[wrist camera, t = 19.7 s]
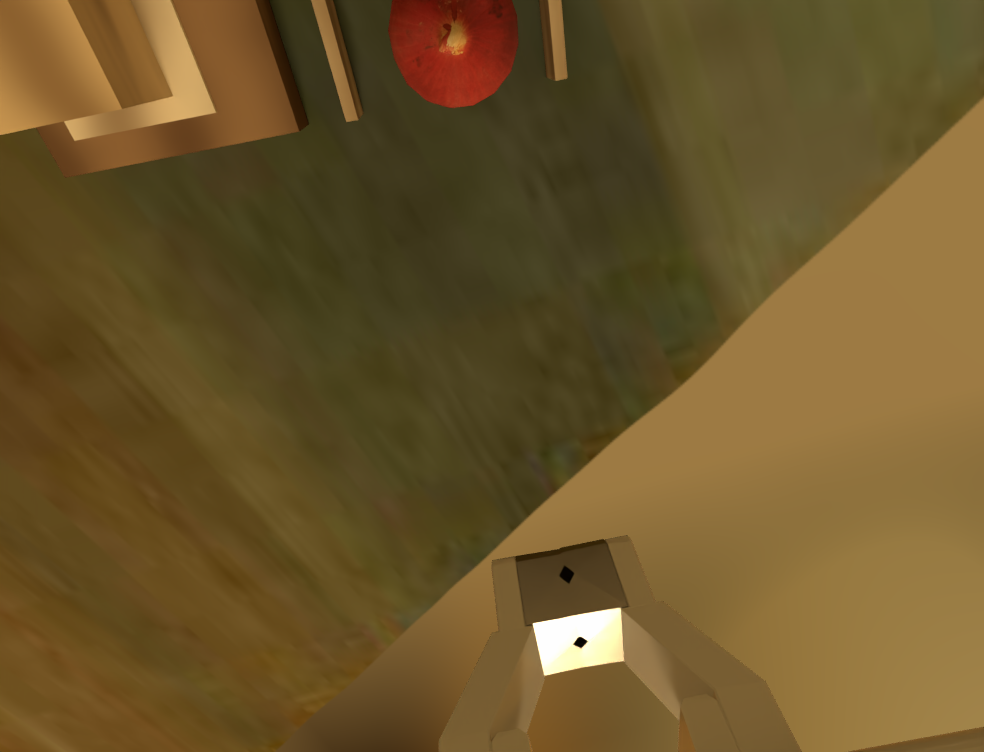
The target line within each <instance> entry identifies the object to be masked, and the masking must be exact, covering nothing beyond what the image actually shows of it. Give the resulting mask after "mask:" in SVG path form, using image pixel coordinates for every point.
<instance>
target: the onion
mask: <svg viewBox="0 0 984 752" xmlns="http://www.w3.org/2000/svg"><path fill="white" fill-rule="evenodd" d="M388 32H389V36H390V41H391V46H392V50H393V55H394V59H395V61H396V63H397V65H398V67H399V69H400V71H401V73H402V75H403V77H404V79H405V81H406V82H407V84H408V85H409V86H410V87H411V88H413V89H414V90H415V91H416V92H417V93H418V94H420V95H421V96H422V97H423V98H424V99H425V100H427V101H429V102H432V103H435V104H439V105H442V106H445V107H448V108H454V107H463V106H472V105H475V104H476V103H478V102H480V101H482V100H483V99H485V98H487V97H488V96H490V95H492V94H494V93H495V91H496V90H497V89H498V88H499V86H500V85H501V84H502V82H503V81H504V80H505V78H506V77H507V76H508V75H509V73H510V72H511V70H512V66H513V62H514V58H515V55H516V51H517V47H518V26H517V14H516V11H515V9H514V6H513V3H512V0H393V1H392V7H391V14H390V22H389V30H388Z"/></svg>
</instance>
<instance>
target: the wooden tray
mask: <svg viewBox="0 0 984 752" xmlns="http://www.w3.org/2000/svg"><path fill="white" fill-rule="evenodd" d="M130 1H131V3H132V5H133V8H134V10H135V12H136V14H137V17H138V19H139V21H140V23H141V26H142V28H143V30H144V32H145V34H146V37H147V39H148V41H149V43H150V46H151V48H152V50H153V52H154V54H155V57H156V59H157V61H158V63H159V66H160V68H161V70H162V72H163V74H164V77H165V79H166V81H167V83H168V86H169V88H170V90H171V92H172V94H173V97H169V98H165V99H161V100H157V101H153V102H149V103H145V104H140V105H136V106H132V107H128V108H124V109H120V110H115V111H110V112H106V113H101V114H96V115H92V116H87V117H82V118H78V119H73V120H68V121H63V122H59V123H54V124H49V125H45V126H40V127H36V128H37V130H38V132H39V134H40V135H41V137H42V139H43V140H44V142H45V144H46V146H47V147H48V149H49V151H50V153H51V154H52V156H53V158H54V159H55V161H56V163H57V165H58V166H59V168H60V170H61V172H62V173H63V175H64V177H65V178H66V177H71V176H76V175H81V174H86V173H91V172H97V171H102V170H107V169H112V168H117V167H122V166H127V165H132V164H137V163H142V162H147V161H152V160H157V159H162V158H167V157H172V156H177V155H182V154H188V153H193V152H198V151H203V150H208V149H213V148H218V147H223V146H228V145H233V144H238V143H243V142H248V141H253V140H258V139H263V138H268V137H273V136H278V135H284V134H289V133H294V132H299V131H300V130H302V129H303V128H304V127H306V126H307V125H309V123H308V120H307V117H306V114H305V111H304V108H303V105H302V101H301V98H300V95H299V92H298V89H297V86H296V83H295V80H294V77H293V74H292V71H291V67H290V64H289V61H288V58H287V55H286V52H285V49H284V46H283V43H282V40H281V37H280V33H279V30H278V27H277V24H276V21H275V18H274V15H273V12H272V9H271V6H270V3H269V0H130ZM311 1H312V5H313V8H314V11H315V15H316V18H317V22H318V25H319V29H320V32H321V36H322V39H323V43H324V46H325V50H326V53H327V57H328V60H329V64H330V67H331V71H332V74H333V77H334V81H335V84H336V88H337V91H338V95H339V98H340V102H341V105H342V109H343V112H344V116H345V119H346V122H349V121H354V120H358V119H359V118H360V117H361V116H362V115H363V110H362V106H361V102H360V99H359V95H358V91H357V87H356V84H355V80H354V76H353V73H352V69H351V65H350V62H349V58H348V54H347V50H346V47H345V43H344V39H343V36H342V32H341V28H340V24H339V21H338V17H337V13H336V10H335V6H334V2H333V0H311ZM539 5H540V15H541V25H542V36H543V46H544V56H545V67H546V77H547V78H550V79H552V80H555V81H556V80H561V79H567V67H566V54H565V41H564V29H563V16H562V3H561V0H539Z"/></svg>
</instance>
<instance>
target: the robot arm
mask: <svg viewBox="0 0 984 752" xmlns="http://www.w3.org/2000/svg"><path fill="white" fill-rule="evenodd" d="M515 558H516V559H515ZM492 576H493V585H494V594H495V602H496V611H497V620H498V629H499V631H498V632H494V633H492V634H491V636H490V638H489V640H488V642H487V644H486V646H485V648H484V650H483V652H482V654H481V656H480V658H479V660H478V662H477V665H476V666H475V668H474V671H473V673H472V674H471V677H470V679H469V681H468V683H467V685H466V687H465V689H464V691H463V693H462V695H461V697H460V699H459V701H458V703H457V705H456V707H455V709H454V711H453V713H452V716H451V717H450V720H449V721H448V724H447V725H446V728H445V730H444V732H443V734H442V736H441V738H440V740H439V752H533V751H532V747H531V744H530V740H529V736H528V734H527V730H528V727H529V724H530V721H531V718H532V715H533V712H534V709H535V706H536V703H537V700H538V697H539V694H540V691H541V688H542V685H543V682H544V679H545V677H544V675H548V674H552V673H557V672H562V671H567V670H572V669H576V668H581V667H586V666H593V665H599V664H605V663H612V662H618V661H625V664H626V665H627V666H628V667H629V668H630V669H631V670H632V671H633V672H634V673H635V674H636V675H637V676H638V677H639V679H640V680H641V681H642V682H643V683H644V684H645V685H646V686H647V687H648V688H649V689H650V690H651V691H652V692H653V693H654V694H655V695H656V697H657V698H658V699H659V700H660V701H661V702H662V703H663V704H664V705H665V706H666V707H667V708H668V709H669V710H670V711H671V713H672V714H673V715H674V716H675V717H676V718H677V719H678V720H679V737H678V738H679V739H678V752H802V751H801V749H800V747H799V745H798V744H797V742H796V740H795V738H794V736H793V734H792V732H791V730H790V728H789V726H788V724H787V723H786V720H785V718H784V717H783V715H782V712H781V711H780V709H779V707H778V705H777V703H776V701H775V699H774V697H773V695H772V693H771V691H770V689H769V687H768V685H767V683H766V682H765V681H764V680H763V679H762V678H761V677H759V676H758V675H756V674H755V673H754V672H753V671H752V670H750V669H749V668H748V667H747V666H745V665H744V664H743V663H741V662H740V661H739V660H738V659H736V658H735V657H734V656H733V655H731V654H730V653H729V652H727V651H726V650H725V649H724V648H722V647H721V646H720V645H718V644H717V643H716V642H715V641H713V640H712V639H711V638H710V637H708V636H707V635H706V634H704V633H703V632H702V631H701V630H699V629H698V628H697V627H695V626H694V625H693V624H692V623H691V622H689V621H688V620H687V619H685V618H684V617H683V616H682V615H680V614H679V613H678V612H677V611H675V610H674V609H673V608H671V607H670V606H669V605H668V604H666V603H665V602H664V601H660V602H656V601H655V598H654V596H653V593H652V591H651V588H650V586H649V583H648V581H647V578H646V576H645V573H644V571H643V568H642V565H641V563H640V561H639V558H638V555H637V553H636V550H635V548H634V545H633V543H632V540H631V539H630V537H628V536H627V535H626V536H620V537H615V538H610V539H605V540H604V539H602V540H597V541H592V542H587V543H582V544H577V545H572V546H568V547H562V548H560V549H557V550H551V551H545V552H538V553H533V554H526V555H520V556H513V557H508V558H503V559H497V560H492ZM848 752H984V727H980V728H974V729H969V730H963V731H958V732H953V733H947V734H942V735H936V736H931V737H925V738H919V739H914V740H909V741H903V742H898V743H892V744H887V745H881V746H876V747H870V748H865V749H859V750H854V751H848Z"/></svg>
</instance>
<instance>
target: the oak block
mask: <svg viewBox="0 0 984 752" xmlns="http://www.w3.org/2000/svg"><path fill="white" fill-rule="evenodd" d="M169 97H173V94H172V92H171V90H170V88H169V86H168V83H167V81H166V79H165V77H164V74H163V72H162V70H161V68H160V66H159V63H158V61H157V59H156V57H155V54H154V52H153V50H152V48H151V46H150V43H149V41H148V39H147V37H146V34H145V32H144V30H143V28H142V26H141V23H140V21H139V19H138V17H137V14H136V12H135V10H134V8H133V5H132V3H131V1H130V0H0V135H2V134H7V133H12V132H16V131H21V130H26V129H30V128H35V127H40V126H45V125H49V124H54V123H59V122H63V121H68V120H73V119H78V118H82V117H87V116H92V115H96V114H101V113H106V112H110V111H115V110H120V109H124V108H128V107H132V106H136V105H140V104H145V103H149V102H153V101H157V100H161V99H165V98H169Z"/></svg>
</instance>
